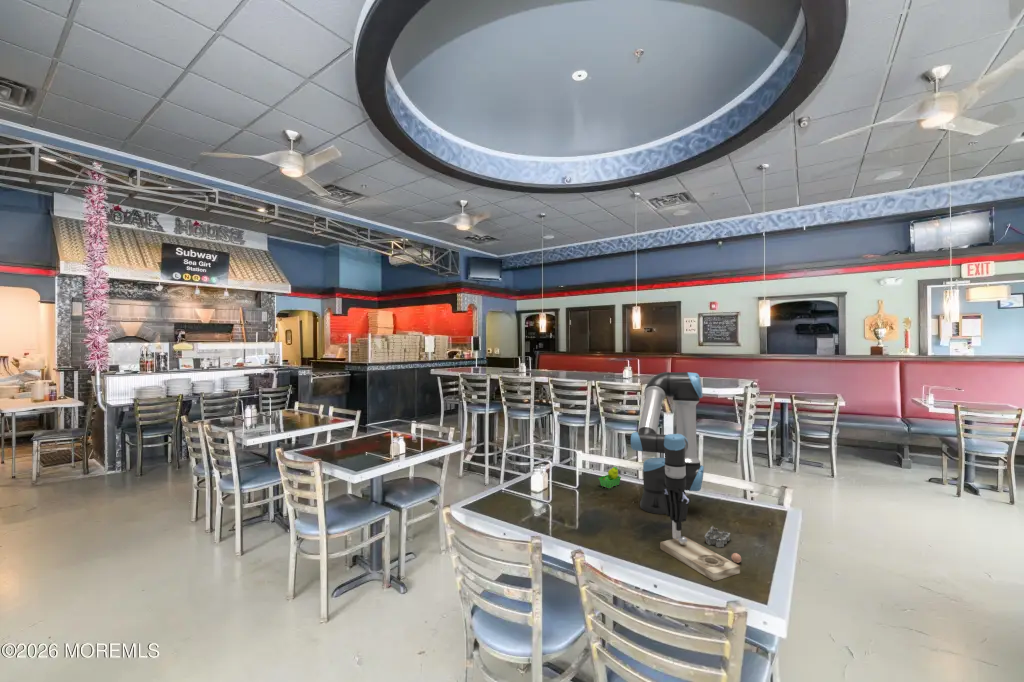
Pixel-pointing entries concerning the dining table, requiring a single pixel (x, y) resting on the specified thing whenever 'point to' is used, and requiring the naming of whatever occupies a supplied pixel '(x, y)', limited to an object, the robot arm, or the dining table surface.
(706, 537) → the egg carton
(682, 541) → the steel ball
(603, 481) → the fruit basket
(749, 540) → the dining table surface
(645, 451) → the robot arm
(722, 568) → the hole plate
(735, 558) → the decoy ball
